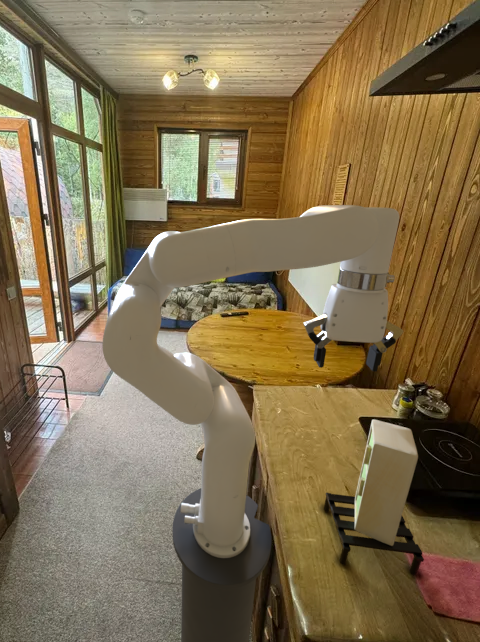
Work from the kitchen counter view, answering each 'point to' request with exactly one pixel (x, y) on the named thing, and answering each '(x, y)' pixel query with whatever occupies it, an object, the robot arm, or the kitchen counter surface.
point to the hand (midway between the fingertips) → (344, 366)
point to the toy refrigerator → (384, 480)
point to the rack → (368, 542)
